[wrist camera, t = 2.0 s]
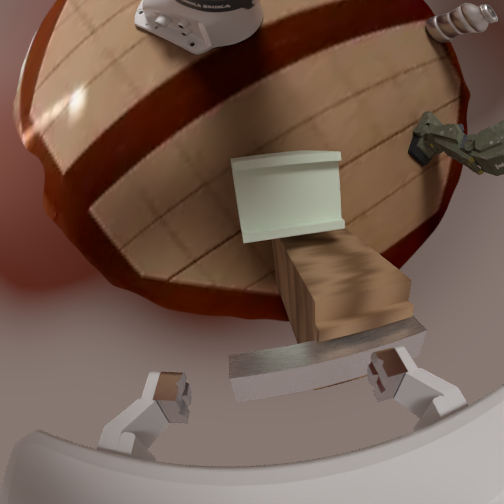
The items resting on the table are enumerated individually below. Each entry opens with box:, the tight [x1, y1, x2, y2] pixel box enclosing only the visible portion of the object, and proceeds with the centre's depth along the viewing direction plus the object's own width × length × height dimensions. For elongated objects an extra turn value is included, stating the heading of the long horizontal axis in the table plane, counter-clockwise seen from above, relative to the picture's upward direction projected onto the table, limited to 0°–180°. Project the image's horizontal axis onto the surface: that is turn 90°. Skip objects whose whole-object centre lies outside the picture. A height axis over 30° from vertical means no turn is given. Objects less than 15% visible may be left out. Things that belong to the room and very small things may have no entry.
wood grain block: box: [272, 228, 414, 390], centre depth 36 cm, size 10×12×27 cm
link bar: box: [229, 315, 427, 402], centre depth 23 cm, size 19×4×3 cm, turn 97°
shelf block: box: [230, 150, 345, 243], centre depth 36 cm, size 12×9×16 cm
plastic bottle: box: [426, 3, 498, 43], centre depth 23 cm, size 6×7×20 cm
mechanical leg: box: [408, 111, 504, 176], centre depth 29 cm, size 14×7×30 cm, turn 153°
